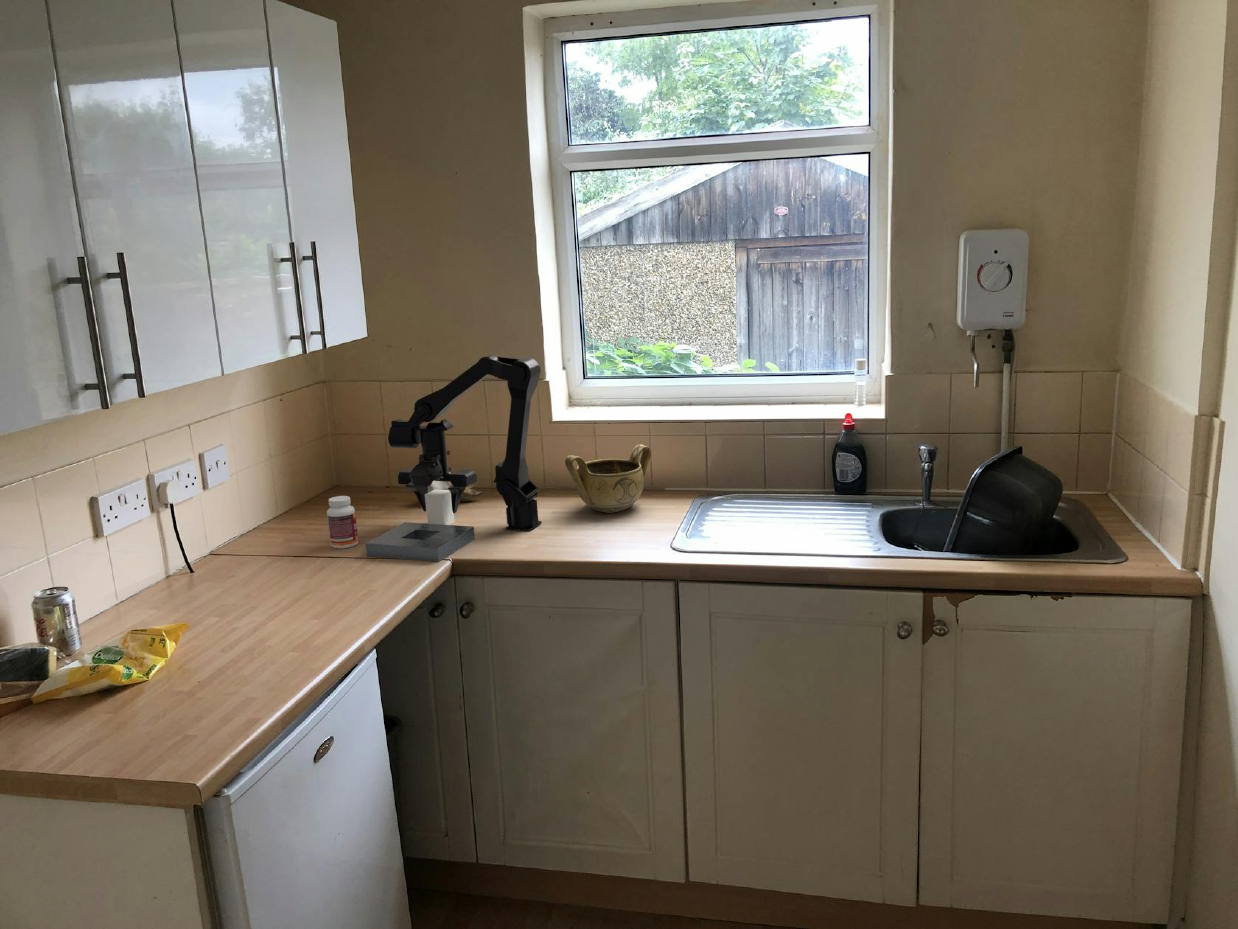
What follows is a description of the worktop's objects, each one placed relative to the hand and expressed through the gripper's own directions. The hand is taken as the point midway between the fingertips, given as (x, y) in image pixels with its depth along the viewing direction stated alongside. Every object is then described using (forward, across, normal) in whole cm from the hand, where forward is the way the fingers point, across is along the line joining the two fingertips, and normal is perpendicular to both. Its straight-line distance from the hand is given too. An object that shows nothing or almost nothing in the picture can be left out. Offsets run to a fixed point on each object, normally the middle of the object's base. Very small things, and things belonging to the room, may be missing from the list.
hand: (440, 512), depth 238 cm
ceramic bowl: (+3, +36, +20) cm, 41 cm away
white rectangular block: (+3, 0, 0) cm, 3 cm away
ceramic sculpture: (+3, -9, +20) cm, 22 cm away
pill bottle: (+3, -14, -19) cm, 24 cm away
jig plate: (+3, +5, -17) cm, 18 cm away
